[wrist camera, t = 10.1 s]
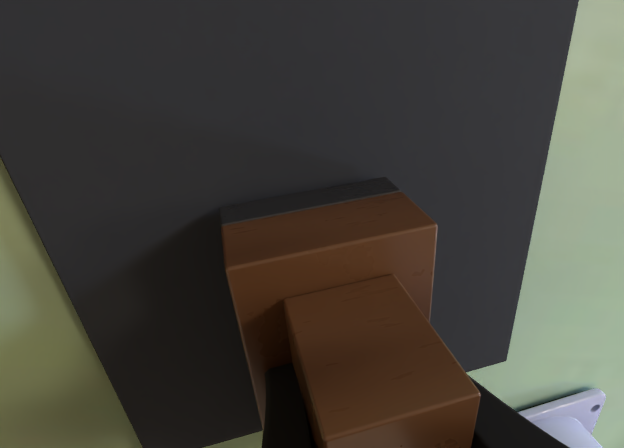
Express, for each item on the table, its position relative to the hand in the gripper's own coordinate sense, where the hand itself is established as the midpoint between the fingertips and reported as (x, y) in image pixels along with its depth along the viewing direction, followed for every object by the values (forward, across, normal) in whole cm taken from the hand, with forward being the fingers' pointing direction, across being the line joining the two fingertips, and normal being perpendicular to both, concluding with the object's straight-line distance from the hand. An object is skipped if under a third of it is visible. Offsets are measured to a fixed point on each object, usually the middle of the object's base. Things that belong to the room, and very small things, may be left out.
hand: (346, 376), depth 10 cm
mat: (+3, 0, -4) cm, 5 cm away
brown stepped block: (+3, 0, 0) cm, 3 cm away
